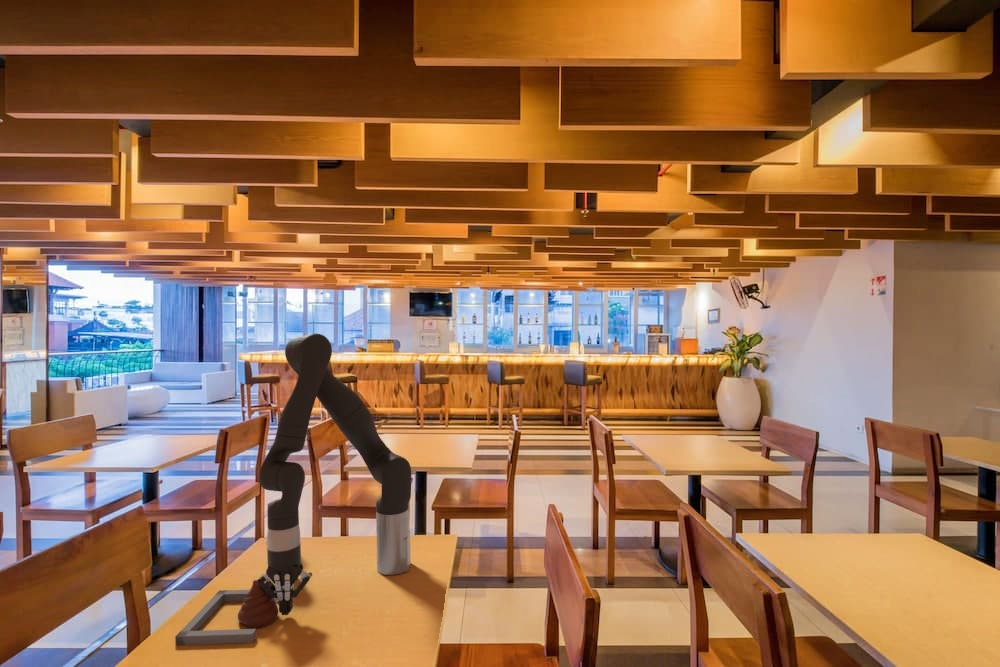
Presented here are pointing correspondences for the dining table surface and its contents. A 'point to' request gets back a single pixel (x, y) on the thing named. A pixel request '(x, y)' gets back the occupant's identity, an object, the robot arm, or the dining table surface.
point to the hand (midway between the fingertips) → (285, 613)
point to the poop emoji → (258, 608)
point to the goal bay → (195, 637)
